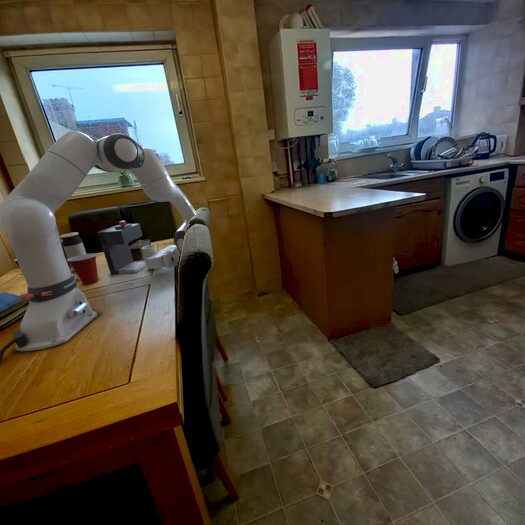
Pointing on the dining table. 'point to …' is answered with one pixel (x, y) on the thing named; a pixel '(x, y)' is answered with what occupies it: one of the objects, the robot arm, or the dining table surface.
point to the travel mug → (72, 245)
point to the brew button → (122, 223)
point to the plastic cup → (85, 267)
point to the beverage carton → (138, 249)
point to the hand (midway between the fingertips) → (149, 256)
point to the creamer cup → (149, 252)
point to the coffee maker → (120, 248)
